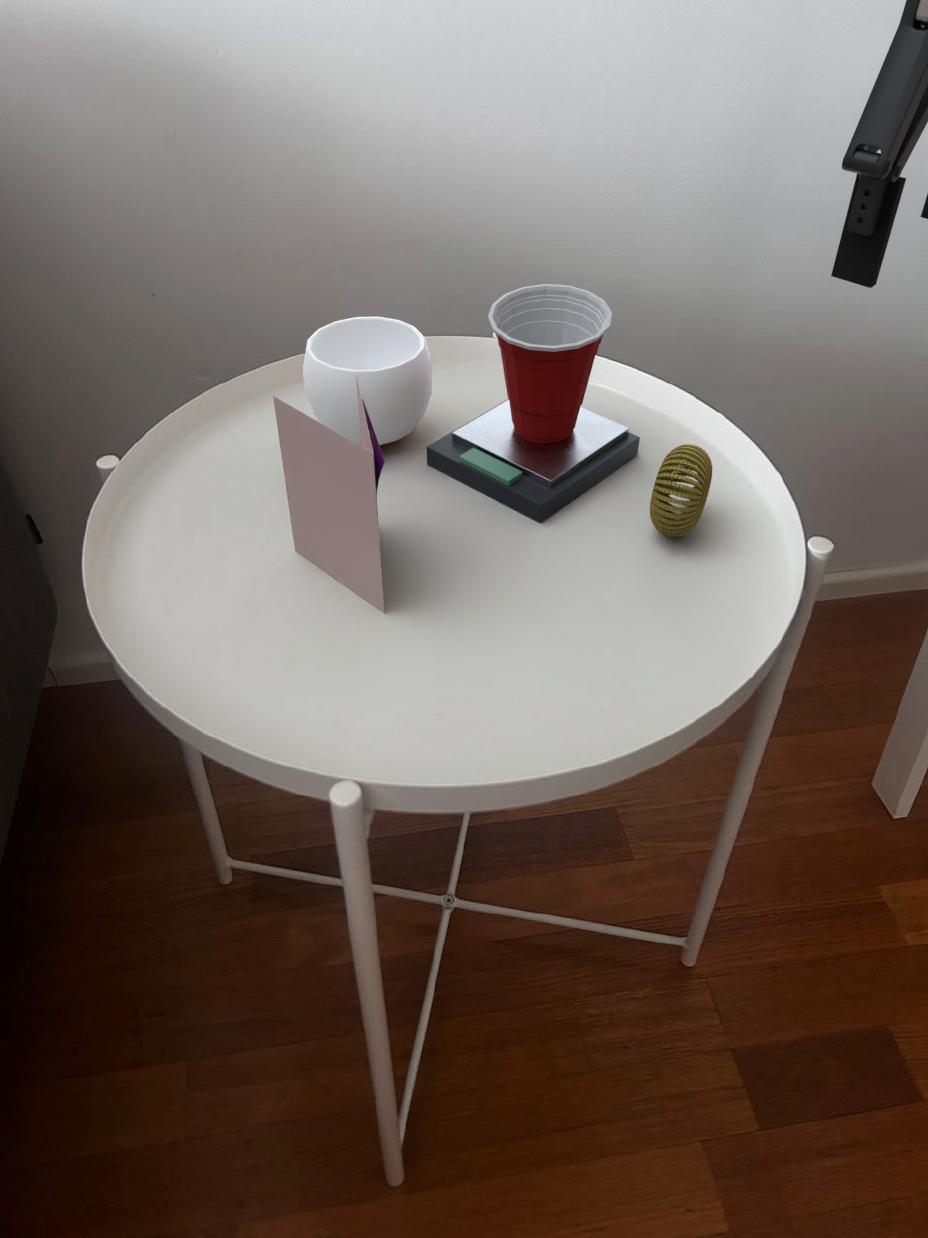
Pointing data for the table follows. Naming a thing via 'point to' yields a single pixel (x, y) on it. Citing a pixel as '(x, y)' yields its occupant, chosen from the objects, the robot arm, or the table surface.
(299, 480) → the greeting card
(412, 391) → the cup
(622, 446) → the scale
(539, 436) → the plastic cup
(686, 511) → the sculpture
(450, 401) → the table surface
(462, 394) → the table surface
